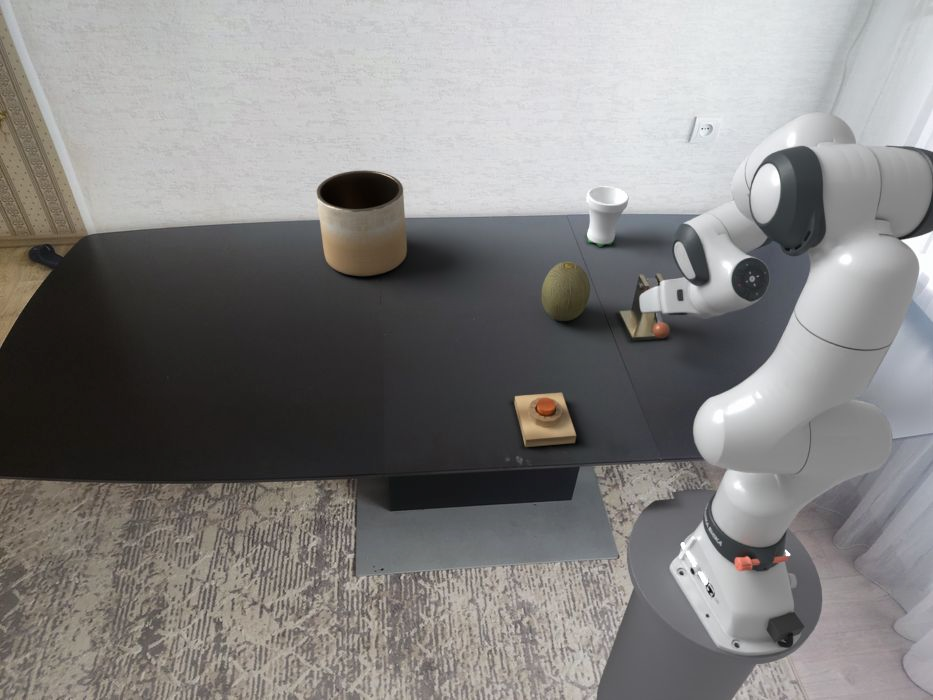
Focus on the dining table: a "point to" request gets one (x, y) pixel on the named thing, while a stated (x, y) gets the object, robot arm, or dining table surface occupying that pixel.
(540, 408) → the button
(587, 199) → the cup
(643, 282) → the lever bracket
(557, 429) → the button block
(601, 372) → the dining table surface
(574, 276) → the fruit
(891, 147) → the robot arm
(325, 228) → the planter
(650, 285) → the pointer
